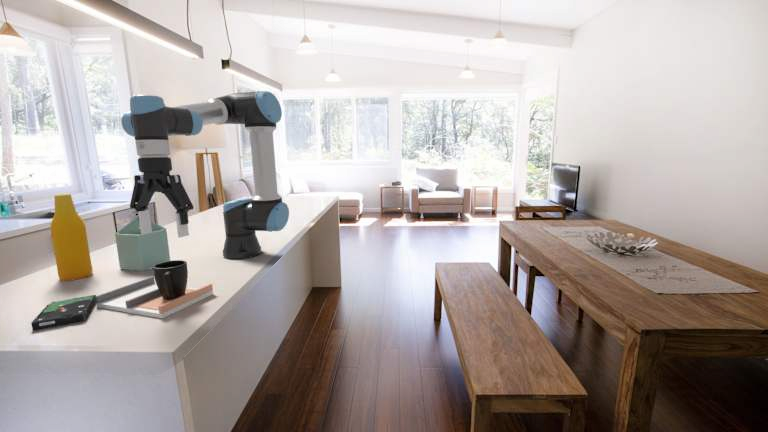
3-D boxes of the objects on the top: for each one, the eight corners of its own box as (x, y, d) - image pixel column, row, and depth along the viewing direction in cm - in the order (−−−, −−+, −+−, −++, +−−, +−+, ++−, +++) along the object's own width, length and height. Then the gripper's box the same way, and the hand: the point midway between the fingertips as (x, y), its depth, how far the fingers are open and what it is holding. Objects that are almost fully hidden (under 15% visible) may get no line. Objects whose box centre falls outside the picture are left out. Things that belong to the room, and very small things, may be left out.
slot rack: (153, 286, 116) (152, 276, 116) (213, 294, 108) (212, 284, 108) (96, 307, 100) (95, 296, 100) (162, 318, 92) (160, 306, 92)
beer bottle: (82, 271, 133) (69, 193, 129) (99, 273, 130) (86, 193, 126) (52, 279, 125) (37, 196, 120) (70, 282, 122) (55, 196, 117)
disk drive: (87, 323, 92) (97, 302, 105) (85, 313, 92) (95, 293, 104) (32, 333, 87) (50, 311, 100) (30, 323, 87) (48, 301, 99)
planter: (116, 274, 129) (107, 220, 125) (120, 268, 136) (112, 217, 132) (169, 267, 136) (162, 215, 133) (170, 262, 143) (164, 213, 140)
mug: (151, 309, 95) (146, 274, 93) (160, 293, 106) (156, 262, 105) (186, 303, 98) (182, 270, 96) (192, 289, 109) (188, 258, 107)
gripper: (106, 157, 96) (119, 235, 100) (177, 156, 88) (188, 240, 92) (134, 157, 103) (144, 229, 107) (202, 155, 95) (211, 234, 99)
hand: (164, 235), depth 99 cm, fingers open, 13 cm apart
